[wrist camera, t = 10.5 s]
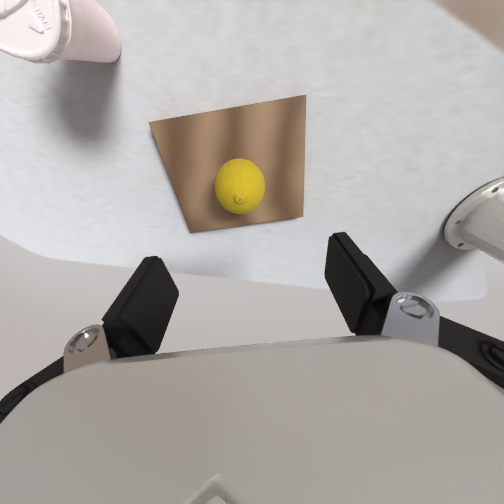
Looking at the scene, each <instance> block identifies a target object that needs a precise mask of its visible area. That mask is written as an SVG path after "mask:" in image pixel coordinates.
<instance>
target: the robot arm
mask: <svg viewBox="0 0 504 504" xmlns="http://www.w3.org/2000/svg"><path fill="white" fill-rule="evenodd" d="M444 237H445V240H446V241H447V243H449V244H450V245H452V246H453V247H455V248H457V249H461V250H471V249H479V250H481V251H483V252H484V253H486V254H488V255H489V256H491V257H493V258H494V259H496V260H498V261H500V262H501V263H503V264H504V177H503V178H500V179H498V180H495V181H493V182H491V183H489V184H487V185H485V186H483V187H482V188H480V189H479V190H477V191H476V192H474V193H473V194H471V195H470V196H469V197H468V198H466V199H465V200H464V201H463V202H462V203H461V204H460V205H459V206H458V207H457V208H456V209H455V211H454V212H453V213H452V214H451V216H450V218H449V219H448V221H447V223H446V226H445V230H444ZM325 279H326V281H327V283H328V285H329V288H330V290H331V292H332V294H333V296H334V298H335V300H336V302H337V304H338V306H339V309H340V311H341V313H342V315H343V317H344V319H345V321H346V323H347V325H348V327H349V329H350V331H351V332H352V333H355V335H356V336H346V337H333V338H319V339H308V340H297V341H287V342H275V343H264V344H253V345H243V346H232V347H222V348H212V349H201V350H191V351H181V352H172V353H161V354H155V352H157V351H158V350H159V348H160V345H161V342H162V339H163V337H164V334H165V331H166V329H167V326H168V323H169V321H170V318H171V315H172V312H173V310H174V307H175V304H176V301H177V299H178V296H179V291H178V289H177V287H176V285H175V283H174V281H173V279H172V277H171V276H170V274H169V272H168V270H167V268H166V266H165V264H164V263H163V261H162V259H161V258H158V257H157V256H151V257H145V258H144V259H143V261H142V262H141V264H140V265H139V266H138V268H137V269H136V271H135V272H134V274H133V275H132V277H131V278H130V279H129V281H128V282H127V284H126V285H125V286H124V288H123V289H122V291H121V292H120V294H119V295H118V297H117V298H116V299H115V301H114V302H113V304H112V305H111V307H110V308H109V309H108V311H107V312H106V314H105V315H104V317H103V318H102V321H104V324H103V325H102V326H101V325H91V326H88V327H86V328H84V329H82V330H81V331H79V332H78V333H77V334H75V335H74V336H73V337H72V338H71V339H70V340H69V342H68V343H67V345H66V346H65V349H64V356H63V357H61V358H60V359H58V360H57V361H55V362H54V363H52V364H51V365H49V366H47V367H46V368H44V369H43V370H41V371H40V372H38V373H37V374H35V375H34V376H32V377H31V378H29V379H28V380H26V381H25V382H23V383H22V384H20V385H19V386H17V387H16V388H14V390H12V391H10V392H9V393H8V394H7V395H6V396H5V397H4V398H3V399H2V400H1V401H0V504H504V342H503V341H501V340H498V339H496V338H493V337H491V336H488V335H486V334H483V333H481V332H479V331H476V330H474V329H471V328H469V327H466V326H464V325H461V324H459V323H456V322H454V321H451V320H449V319H447V318H444V317H442V316H440V314H439V310H438V308H437V307H436V305H435V304H433V303H432V302H431V301H430V300H429V299H427V298H425V297H424V296H421V295H419V294H416V293H412V292H397V290H396V289H395V288H394V287H393V286H392V285H391V283H390V282H389V281H388V280H387V279H386V277H385V276H384V275H383V274H382V273H381V272H380V270H379V269H378V268H377V267H376V266H375V265H374V263H373V262H372V261H371V260H370V259H369V257H368V256H367V255H365V254H363V253H362V251H361V250H360V249H359V248H358V247H357V245H356V244H355V243H354V242H353V241H352V239H351V238H350V237H349V236H348V235H347V233H346V232H339V233H333V235H332V236H330V237H329V241H328V249H327V257H326V265H325Z"/></svg>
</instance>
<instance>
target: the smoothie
mask: <svg viewBox="0 0 504 504" xmlns="http://www.w3.org/2000/svg"><path fill="white" fill-rule="evenodd" d="M0 50H1V51H3V52H5V53H7V54H9V55H12V56H14V57H18V58H21V59H24V60H27V61H30V62H33V63H51V62H54V61H56V60H59V59H66V60H79V61H91V62H104V63H112V62H114V61H116V60H117V59H118V58H119V56H120V53H121V38H120V34H119V31H118V29H117V27H116V25H115V23H114V21H113V20H112V18H111V17H110V16H109V15H108V14H107V13H106V12H105V11H104V10H103V8H102V7H101V6H100V5H99V4H98V3H97V2H96V1H95V0H0Z"/></svg>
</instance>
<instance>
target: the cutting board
mask: <svg viewBox="0 0 504 504" xmlns="http://www.w3.org/2000/svg"><path fill="white" fill-rule="evenodd" d="M305 122H306V95H302V96H296V97H290V98H285V99H279V100H273V101H268V102H262V103H256V104H250V105H245V106H239V107H233V108H227V109H222V110H216V111H210V112H204V113H199V114H193V115H187V116H181V117H176V118H170V119H164V120H159V121H153V122H149V125H150V128H151V130H152V133H153V135H154V138H155V141H156V143H157V146H158V148H159V151H160V154H161V156H162V159H163V161H164V164H165V167H166V169H167V172H168V175H169V177H170V180H171V182H172V185H173V188H174V190H175V193H176V195H177V198H178V201H179V203H180V206H181V208H182V211H183V214H184V216H185V219H186V221H187V224H188V227H189V229H190V232H191V233H193V232H200V231H207V230H214V229H221V228H228V227H235V226H242V225H249V224H256V223H263V222H270V221H277V220H284V219H291V218H298V217H303V204H304V163H305ZM237 158H239V159H246V160H249V161H251V162H253V163H254V164H255V165H256V166H257V167H258V168H259V169H260V170H261V172H262V174H263V177H264V181H265V192H264V196H263V199H262V201H261V203H260V204H259V205H258V206H257V207H256V209H254V210H253V211H251V212H249V213H246V214H235V213H232V212H229V211H228V210H226V209H225V208H224V207H223V206H222V205H221V204H220V202H219V201H218V199H217V196H216V193H215V179H216V175H217V173H218V171H219V169H220V168H221V167H222V166H223V165H224V164H225V163H226V162H228V161H230V160H233V159H237Z"/></svg>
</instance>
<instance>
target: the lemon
mask: <svg viewBox="0 0 504 504" xmlns="http://www.w3.org/2000/svg"><path fill="white" fill-rule="evenodd" d="M264 192H265V181H264V177H263V174H262V172H261V170H260V169H259V168H258V167H257V166H256V165H255V164H254V163H253V162H251V161H249V160H246V159H239V158H237V159H233V160H230V161H228V162H226V163H225V164H224V165H223V166H222V167H221V168H220V169H219V171H218V173H217V175H216V179H215V193H216V196H217V199H218V201H219V202H220V204H221V205H222V206H223V207H224V208H225V209H226V210H228V211H229V212H232V213H235V214H246V213H249V212H251V211H253V210H254V209H256V207H257V206H258V205H259V204H260V203H261V201H262V199H263V196H264Z"/></svg>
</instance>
